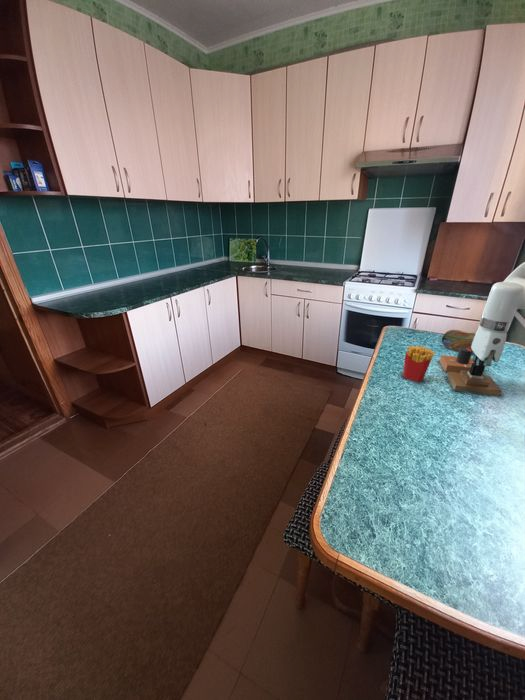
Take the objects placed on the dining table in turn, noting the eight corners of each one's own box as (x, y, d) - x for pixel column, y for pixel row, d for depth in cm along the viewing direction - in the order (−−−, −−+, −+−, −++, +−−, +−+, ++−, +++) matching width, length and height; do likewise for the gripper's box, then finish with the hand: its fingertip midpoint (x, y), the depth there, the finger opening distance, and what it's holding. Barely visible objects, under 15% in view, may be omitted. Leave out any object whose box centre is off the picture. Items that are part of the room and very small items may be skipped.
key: (478, 376, 99) (479, 372, 98) (482, 382, 96) (483, 378, 95) (466, 375, 100) (467, 371, 99) (469, 381, 97) (471, 376, 96)
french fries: (399, 376, 105) (406, 347, 100) (402, 372, 108) (409, 343, 102) (425, 384, 101) (434, 353, 95) (427, 378, 103) (436, 349, 98)
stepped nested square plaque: (487, 381, 101) (491, 371, 100) (499, 396, 94) (503, 385, 92) (446, 376, 105) (449, 367, 103) (454, 390, 97) (457, 380, 95)
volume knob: (453, 359, 109) (457, 346, 107) (462, 358, 110) (466, 345, 108) (462, 364, 106) (466, 351, 103) (471, 363, 107) (476, 350, 104)
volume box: (473, 365, 112) (476, 357, 110) (482, 376, 104) (485, 368, 103) (439, 361, 114) (441, 354, 113) (445, 372, 107) (447, 364, 106)
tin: (439, 347, 126) (444, 329, 122) (440, 344, 128) (445, 326, 124) (481, 356, 118) (488, 337, 114) (481, 353, 120) (488, 334, 116)
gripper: (521, 334, 81) (497, 388, 90) (497, 316, 94) (479, 365, 103) (490, 331, 83) (470, 385, 92) (471, 314, 96) (455, 362, 104)
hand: (475, 374), depth 97 cm, fingers closed
